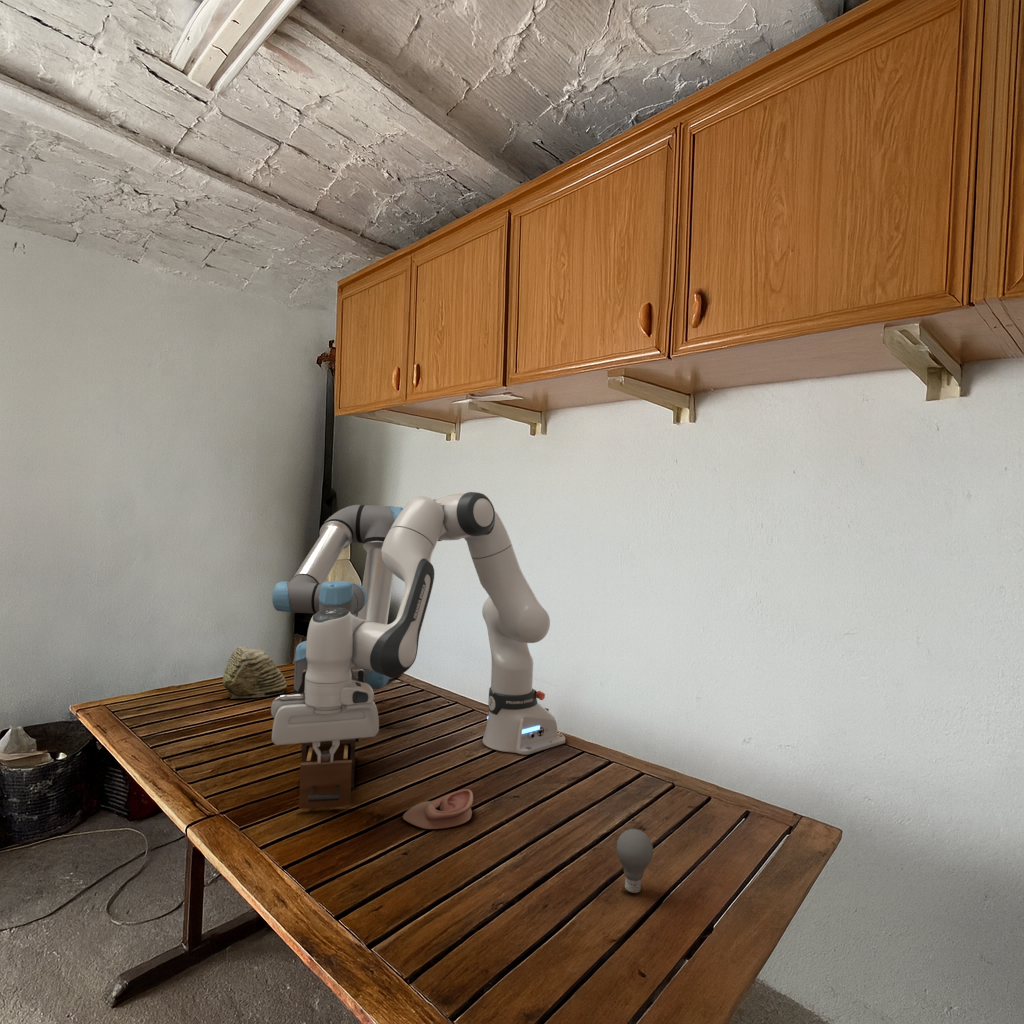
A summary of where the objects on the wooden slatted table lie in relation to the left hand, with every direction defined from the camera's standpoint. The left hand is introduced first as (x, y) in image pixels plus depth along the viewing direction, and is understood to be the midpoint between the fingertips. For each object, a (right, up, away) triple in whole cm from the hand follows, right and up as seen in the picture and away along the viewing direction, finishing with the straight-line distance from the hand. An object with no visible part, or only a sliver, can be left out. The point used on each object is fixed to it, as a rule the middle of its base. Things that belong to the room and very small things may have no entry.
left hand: (330, 741), depth 148 cm
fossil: (-38, -4, +50) cm, 63 cm away
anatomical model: (+28, -8, -21) cm, 35 cm away
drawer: (+4, -6, -16) cm, 18 cm away
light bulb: (+63, -10, -43) cm, 76 cm away
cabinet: (+1, -6, -4) cm, 7 cm away
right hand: (+6, +4, -23) cm, 25 cm away
